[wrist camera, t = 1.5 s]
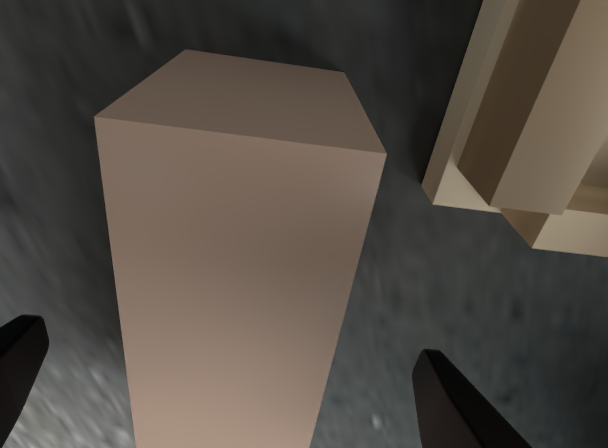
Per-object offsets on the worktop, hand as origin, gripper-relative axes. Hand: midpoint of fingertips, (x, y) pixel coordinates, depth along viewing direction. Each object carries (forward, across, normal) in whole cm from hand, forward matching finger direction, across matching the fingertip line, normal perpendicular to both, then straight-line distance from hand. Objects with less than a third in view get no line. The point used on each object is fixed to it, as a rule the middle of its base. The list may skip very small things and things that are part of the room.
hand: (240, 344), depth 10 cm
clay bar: (+3, 0, 0) cm, 3 cm away
